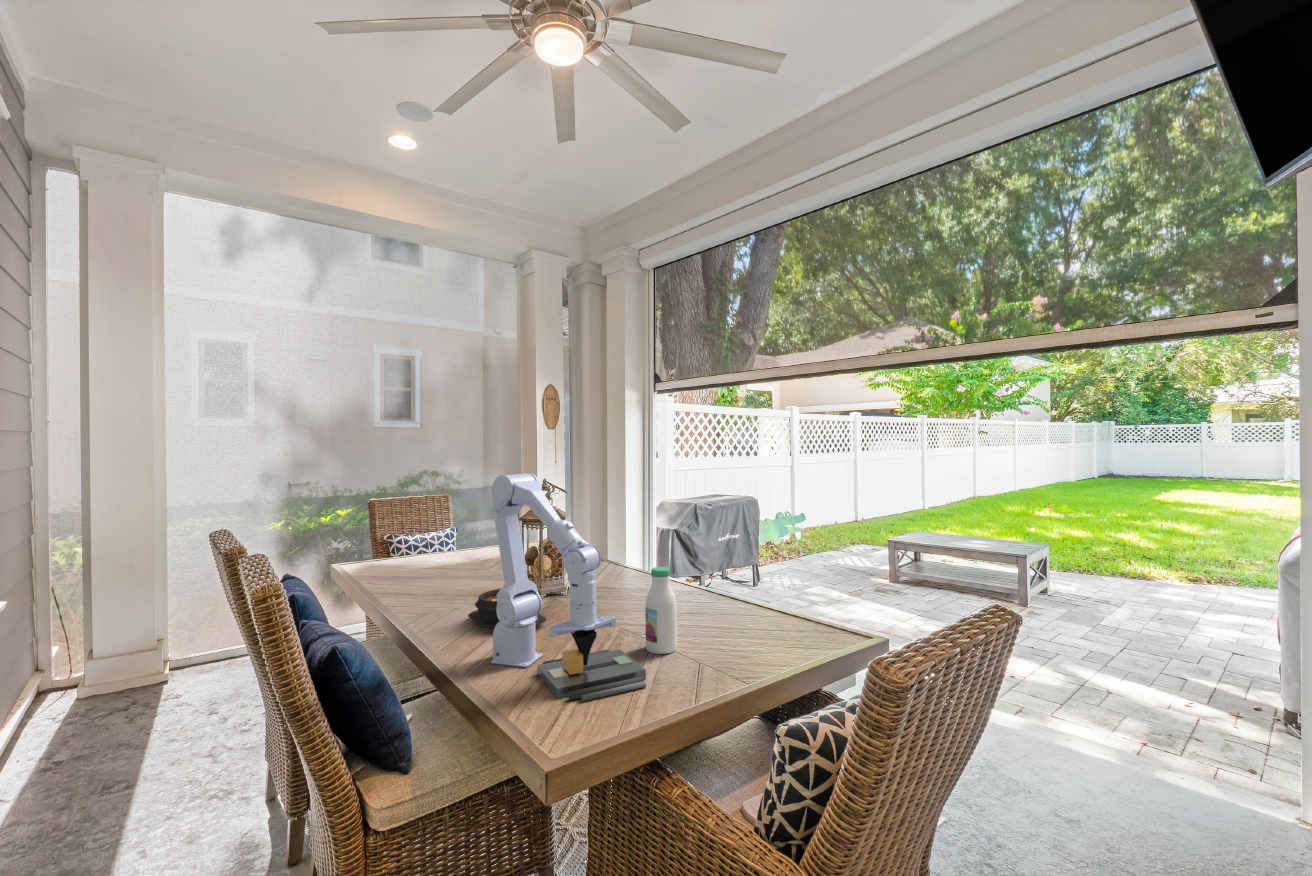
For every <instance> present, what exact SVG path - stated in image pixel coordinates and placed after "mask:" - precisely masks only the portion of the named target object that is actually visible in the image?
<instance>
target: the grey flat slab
mask: <svg viewBox="0 0 1312 876" xmlns="http://www.w3.org/2000/svg"><path fill="white" fill-rule="evenodd" d="M537 675H538V676H539V677H540V679H541V680H542V681H543V683H544V684H545V685H546V687H547V688H548V689H549V690H550V691H551V693H552V694H553V695H554V697H555V698H556V699H557V700H558V699H561V698H565V697H569V696H568V693H569V692H572V691H577V690H581V689H586V688H591V687H595V686H600V685H604V684H609V683H613V682H618V681H622V680H627V679H632V678H636V677H642V678H643V680H646V679H647V670H646V669H645V667H643V666H642V665H640V664H639V663H638V662H637V661H636V660H634V659H633V658H631V657H630V655H628V654H627V653H626V652H625V651H623V650H622V649H619V648H618V649H614V650H609V651H608V652H603V653H598V654H592V655H589V656H588V663H587V665H583V672H581V673H576V674H571V675H570V674H569V673H568V672H567V671H566V670H565V669H564V668H563V666H562V660H561V661H556V662H551V663H546V664H543V663H540V664H537Z"/></svg>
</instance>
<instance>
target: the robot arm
mask: <svg viewBox="0 0 1312 876" xmlns="http://www.w3.org/2000/svg"><path fill="white" fill-rule="evenodd" d="M542 490H543V484H542V482H541V481H540V480H539V479H538V477H537V476H536V475H535V474H534V473H532V472H526V473H518V474H517V473H515V474H514V473H513V474H500V475H498V476H497V477H495V479H494V481H493V482H492V484H491V486H490V493H491V498H492V505H493V506H492V507H493V509H492V510H493V517H494V523H495V524H494V525H495V530H496V537H497V543H498V549H499V555H500V561H501V568H502V574H503V580H504V581H503V582H504V584H503V585H502V586H501V588H499V589H500V591H499V592H498V593H497V608H496V612H497V617H498V619H499V621H500V622H498V623H497V625H496V626H495V629H493V632H492V655H493V656H492V660H491V664H495V665H503V666H511V667H520V668H528V667H529V666H531V665H533V663H534V662H536V661H537V660H539V659H540V658H542V657H543V656H544V653H543V652H537V651H536V647H537V646H536V645H537V644H536V643H537V642H536V640H537V639H536V626H535V621H536V620H537V615H539V614H540V615H541V613H542V609H543V600H542V597H541V595H540V593H539V591H538V588H537V587H538V586H537V584H536V583H534V582H533V581H531V580H530V579H529V578H528V571H527V564H526V559H525V554H524V553H525V551H524V548H523V547H524V546H523V545H524V544H523V539H522V534H521V529H520V528H521V527H520V520H519V514H520V511H521V510H522V509H523V507H524V506H527V507H528V508H529V509H530V510H531V511H532V512H533V514H534V515H536V517H537V518H538V519H539V520H540V521H541V522H542V523H543V524H544V526H545V527H546V528H547V529H548V531H547V538H548V539H549V540H550V542H551V543H552V544H553V545H554V547H555V549H557V551H558V552H559V554H561V556H562V557H563V558H564V560H563V563H562V564H563V567H564V570H565V572H566V574H567V581H568V583H569V620H568V621H563V622H561V623H557V624H554V625H549V636H550V637H552V638H557V637H558V636H562V635H567V634H569V635H570V634H571V636H572V638H573V640H574V642H575V645H576V647H577V650H578V651H579V652H580V653H581V654H582V655H583V665H587V663H588V656H589V653H591V649H592V647H593V644H594V643H595V640H596V638H597V637H598V636H597V633H598V632H597V631H596V629H603V628H604V629H605V628H608V627H610V628H614V627H616V617H615V616H613V615H607V616H597V572H596V571H597V569H598V568H599V567H600V566H601V563H602V555H601V552H600V550H599V549H598V547H597V546H596V545H595V544H591V543H589V542H587V541H585V539H584V538H583V537H582V536H581V535H580V534H579V533H578V531H577V529H576V528H575V525H574V524H573V523H572V522H571V521H569V520H566V519H561V518H560V516H559V515H558V513H557V511H556V510H555V508H554V507H553V506H552V503H550V501H549V499H548V498H547V496H546V495H545V493H544V492H543V491H542ZM518 593H521V594H518ZM516 594H518V595H516Z"/></svg>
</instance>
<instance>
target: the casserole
mask: <svg viewBox="0 0 1312 876" xmlns="http://www.w3.org/2000/svg"><path fill="white" fill-rule="evenodd" d="M500 589H501V588H497V589H492V590H488V591H485V592H483V593H481V594H480V595H478V598H477V601H476V602H475V603H474V605H475V607H476V608H477V609H475V610H473V611H471V612H470V613H468V615H467V617H468V618H469V619H471V621H472V623H473V624H474V625H475V626H478V627H481V628H485V629H490V630H494V629H495V626H496V625H497V623H498V622H500V621H499V619H498V617H497V612H496V608H497V593H498V592H499V591H500ZM518 594H521V593H518ZM518 594H516V595H518ZM546 621H547V617H545V616H543V615H542V614H541V613H540V614H539V615H537V620H536V621H535V627H536V626H539V625H541V624H543V623H545V622H546Z"/></svg>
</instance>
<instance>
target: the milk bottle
mask: <svg viewBox="0 0 1312 876" xmlns="http://www.w3.org/2000/svg"><path fill="white" fill-rule="evenodd" d="M650 573H651V575H650V576H651V580H652V581H651V584H650V588H649V590H648V592H647V596H646V599H645V610H644V611H645V616H644V617H645V648H646V650H647V652H649V653H651V654H655V655H665V654H666V655H667V654H672V653H674V652H675V651H676V650H677V647H678V623H677V622H678V621H677V619H678V618H677V615H678V614H677V600H676V596H675V593H674V591H673V588H672V585H671V583H670V578H671V576H670V575H671V571H670V568H669V567H667V566H654V567H652V568H651V571H650Z"/></svg>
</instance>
